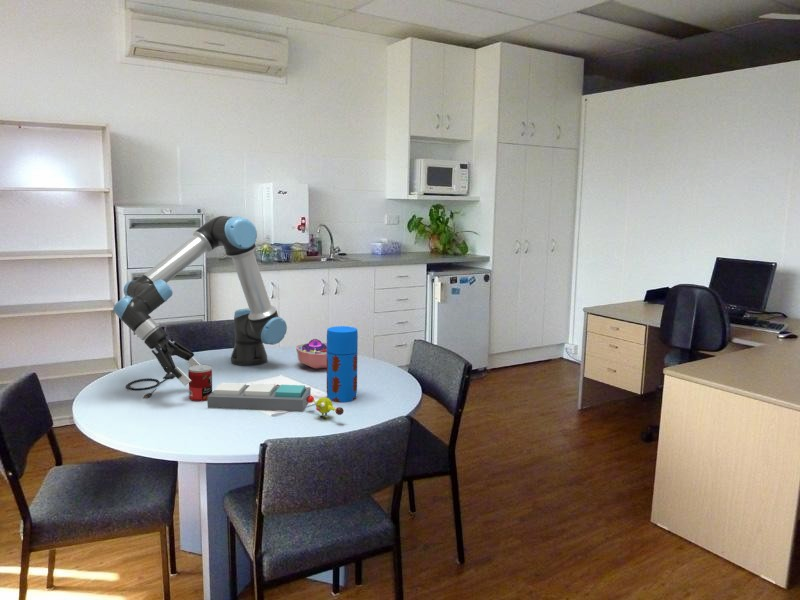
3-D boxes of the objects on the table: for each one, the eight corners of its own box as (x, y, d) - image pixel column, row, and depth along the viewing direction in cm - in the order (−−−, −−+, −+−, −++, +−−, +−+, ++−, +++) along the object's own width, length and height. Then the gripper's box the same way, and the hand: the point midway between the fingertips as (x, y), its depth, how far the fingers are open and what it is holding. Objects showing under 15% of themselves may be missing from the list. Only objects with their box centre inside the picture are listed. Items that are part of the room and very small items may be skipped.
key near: (222, 392, 223) (222, 382, 223) (246, 392, 223) (245, 383, 222) (214, 399, 215) (213, 389, 214) (238, 400, 215) (238, 390, 214)
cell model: (298, 374, 254) (298, 347, 252) (294, 361, 273) (294, 336, 271) (340, 372, 258) (340, 345, 256) (333, 360, 277) (333, 334, 275)
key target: (281, 394, 222) (281, 384, 222) (305, 395, 222) (305, 385, 221) (275, 402, 214) (275, 392, 213) (300, 402, 214) (300, 392, 213)
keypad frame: (221, 395, 226) (220, 384, 226) (310, 398, 225) (310, 387, 224) (207, 407, 213) (207, 396, 212) (302, 411, 211) (302, 399, 211)
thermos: (349, 404, 220) (349, 333, 216) (321, 400, 223) (321, 330, 219) (361, 395, 230) (362, 327, 226) (335, 391, 233) (335, 325, 229)
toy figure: (300, 412, 210) (300, 392, 209) (313, 408, 214) (313, 389, 213) (334, 427, 198) (334, 406, 197) (348, 423, 202) (348, 402, 200)
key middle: (251, 393, 223) (251, 383, 222) (275, 394, 222) (275, 384, 222) (244, 400, 214) (244, 390, 214) (269, 401, 214) (269, 391, 214)
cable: (109, 398, 221) (109, 394, 221) (143, 376, 249) (143, 372, 249) (148, 399, 221) (147, 395, 221) (177, 377, 249) (177, 373, 249)
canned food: (206, 402, 218) (205, 371, 216) (184, 400, 220) (183, 369, 218) (216, 395, 226) (215, 365, 224) (195, 393, 227) (194, 364, 225)
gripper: (160, 333, 232) (201, 374, 234) (127, 349, 207) (174, 395, 209) (173, 319, 231) (215, 361, 233) (142, 334, 206) (189, 380, 208)
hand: (195, 377), depth 221 cm, fingers open, 13 cm apart
